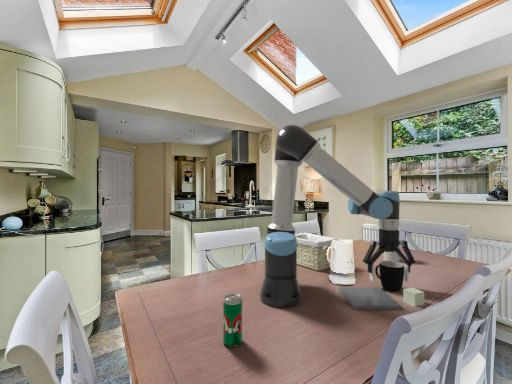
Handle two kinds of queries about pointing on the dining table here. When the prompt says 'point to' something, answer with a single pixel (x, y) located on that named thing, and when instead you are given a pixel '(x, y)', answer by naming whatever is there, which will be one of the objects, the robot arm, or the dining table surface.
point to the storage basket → (313, 250)
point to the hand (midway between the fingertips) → (388, 280)
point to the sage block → (413, 296)
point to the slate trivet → (369, 298)
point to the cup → (391, 256)
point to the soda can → (232, 319)
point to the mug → (391, 275)
